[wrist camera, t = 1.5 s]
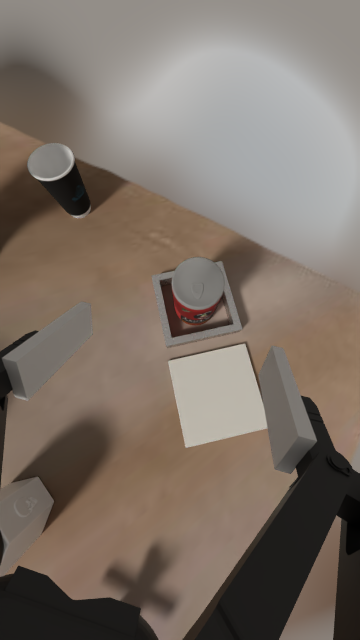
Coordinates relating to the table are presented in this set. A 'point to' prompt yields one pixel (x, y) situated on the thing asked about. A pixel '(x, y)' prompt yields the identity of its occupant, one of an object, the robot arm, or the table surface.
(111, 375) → the table surface
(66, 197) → the dixie cup
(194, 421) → the tile
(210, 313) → the canned food
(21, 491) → the jar
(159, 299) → the square frame
